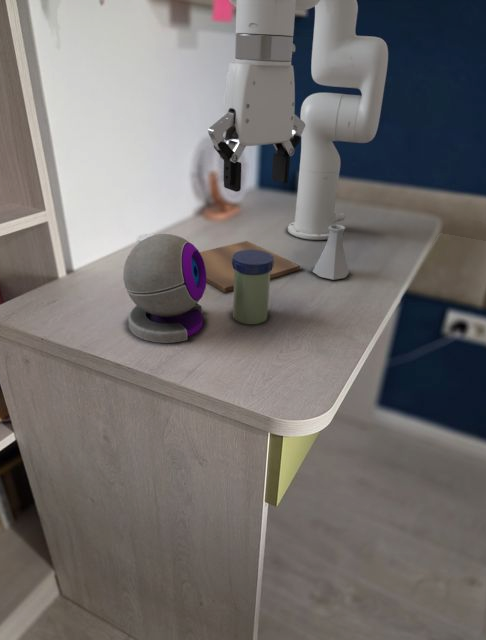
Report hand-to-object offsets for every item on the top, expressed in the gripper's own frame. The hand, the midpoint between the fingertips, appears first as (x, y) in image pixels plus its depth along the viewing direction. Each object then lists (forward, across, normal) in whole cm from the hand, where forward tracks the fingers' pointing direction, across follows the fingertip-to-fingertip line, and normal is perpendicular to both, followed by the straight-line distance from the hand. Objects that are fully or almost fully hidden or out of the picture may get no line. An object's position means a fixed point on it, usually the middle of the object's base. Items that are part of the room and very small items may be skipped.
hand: (256, 185), depth 75 cm
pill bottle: (+22, +8, -20) cm, 31 cm away
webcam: (+22, +13, -6) cm, 27 cm away
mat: (+22, -12, -19) cm, 32 cm away
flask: (+22, -26, -5) cm, 35 cm away
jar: (+22, 0, 0) cm, 22 cm away
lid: (+12, 0, 0) cm, 12 cm away
